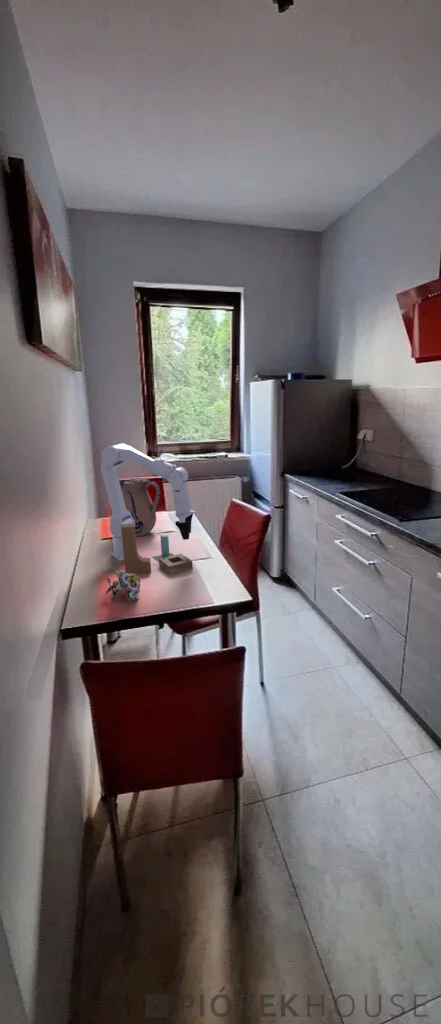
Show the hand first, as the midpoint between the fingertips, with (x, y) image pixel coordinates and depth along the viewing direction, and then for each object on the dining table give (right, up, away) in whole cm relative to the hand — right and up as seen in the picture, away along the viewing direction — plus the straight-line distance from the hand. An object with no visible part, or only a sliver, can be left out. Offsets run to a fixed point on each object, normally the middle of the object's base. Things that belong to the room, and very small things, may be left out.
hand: (187, 536), depth 158 cm
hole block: (-4, -12, -3) cm, 13 cm away
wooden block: (-17, -13, -5) cm, 22 cm away
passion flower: (-18, -19, -25) cm, 36 cm away
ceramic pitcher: (-24, -1, +37) cm, 44 cm away
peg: (-9, -9, +6) cm, 14 cm away
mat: (-9, -9, +6) cm, 14 cm away
